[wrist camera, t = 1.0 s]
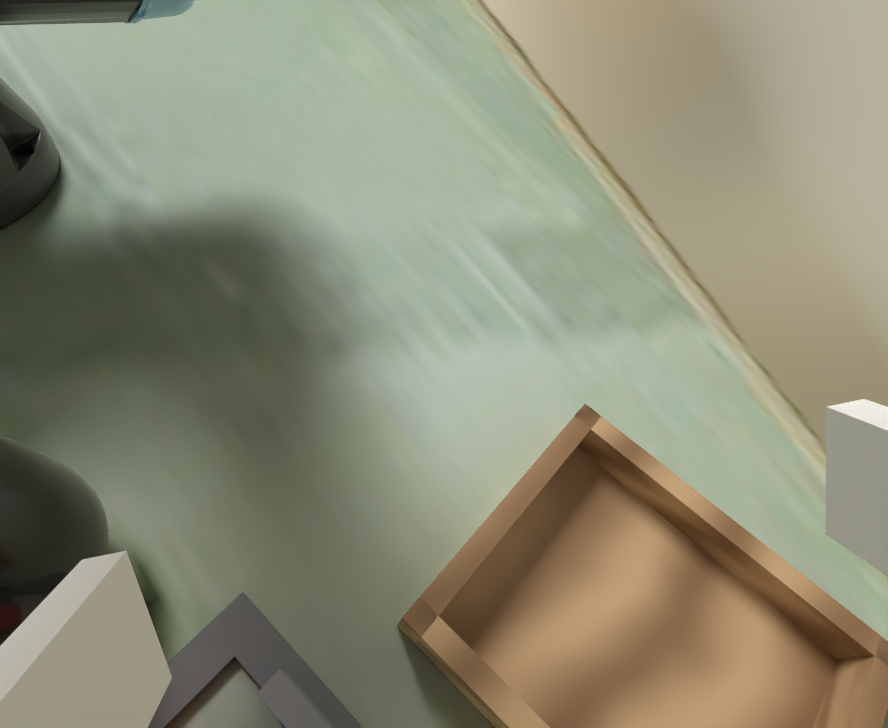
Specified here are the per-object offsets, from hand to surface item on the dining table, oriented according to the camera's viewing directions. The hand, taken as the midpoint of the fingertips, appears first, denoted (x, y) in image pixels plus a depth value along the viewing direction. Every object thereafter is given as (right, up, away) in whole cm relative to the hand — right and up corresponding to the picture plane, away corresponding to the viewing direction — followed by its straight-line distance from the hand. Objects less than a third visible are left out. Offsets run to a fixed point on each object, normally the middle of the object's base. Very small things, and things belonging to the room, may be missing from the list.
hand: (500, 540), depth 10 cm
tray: (+9, -12, +19) cm, 24 cm away
